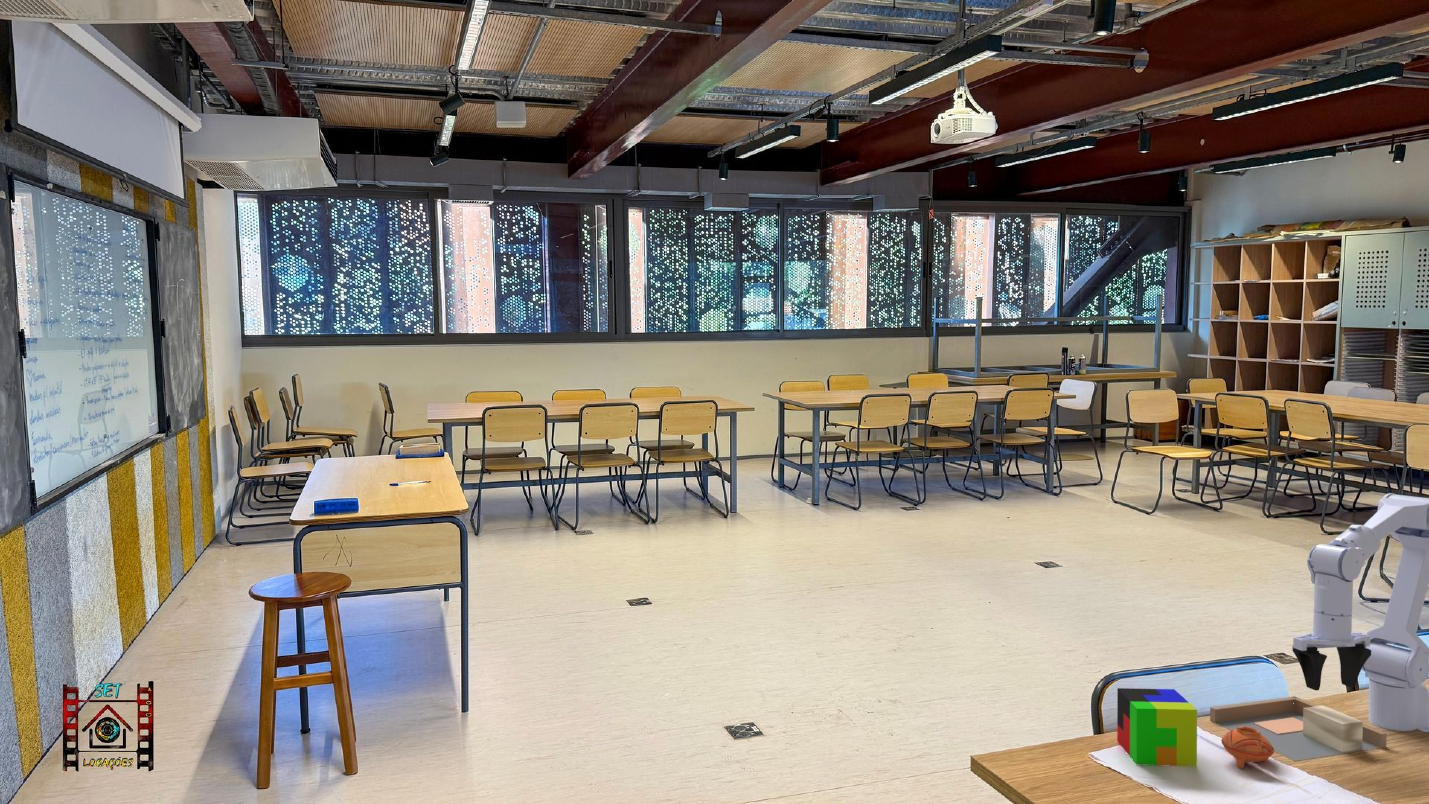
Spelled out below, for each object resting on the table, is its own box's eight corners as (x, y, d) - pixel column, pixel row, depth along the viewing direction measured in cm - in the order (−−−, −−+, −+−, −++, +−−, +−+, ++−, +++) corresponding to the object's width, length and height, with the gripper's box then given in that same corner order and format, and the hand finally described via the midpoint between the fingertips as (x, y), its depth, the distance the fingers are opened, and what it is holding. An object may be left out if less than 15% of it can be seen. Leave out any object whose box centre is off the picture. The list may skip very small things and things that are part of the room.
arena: (1294, 712, 183) (1294, 696, 183) (1386, 751, 164) (1386, 733, 164) (1210, 724, 178) (1210, 707, 178) (1294, 765, 159) (1295, 746, 159)
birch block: (1322, 732, 171) (1322, 705, 171) (1362, 749, 164) (1362, 721, 163) (1302, 734, 170) (1303, 708, 170) (1342, 752, 163) (1342, 724, 162)
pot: (1207, 756, 163) (1214, 717, 163) (1243, 761, 165) (1249, 723, 165) (1244, 774, 155) (1251, 733, 156) (1281, 779, 157) (1288, 739, 158)
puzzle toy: (1173, 743, 170) (1174, 689, 169) (1196, 766, 160) (1197, 709, 159) (1117, 741, 171) (1117, 688, 170) (1136, 765, 161) (1136, 708, 160)
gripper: (1317, 620, 161) (1315, 697, 161) (1386, 616, 164) (1384, 692, 164) (1284, 609, 167) (1282, 684, 168) (1351, 606, 170) (1349, 679, 171)
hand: (1330, 687), depth 166 cm, fingers open, 7 cm apart
